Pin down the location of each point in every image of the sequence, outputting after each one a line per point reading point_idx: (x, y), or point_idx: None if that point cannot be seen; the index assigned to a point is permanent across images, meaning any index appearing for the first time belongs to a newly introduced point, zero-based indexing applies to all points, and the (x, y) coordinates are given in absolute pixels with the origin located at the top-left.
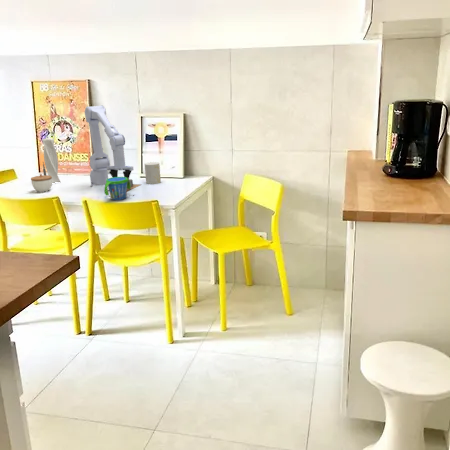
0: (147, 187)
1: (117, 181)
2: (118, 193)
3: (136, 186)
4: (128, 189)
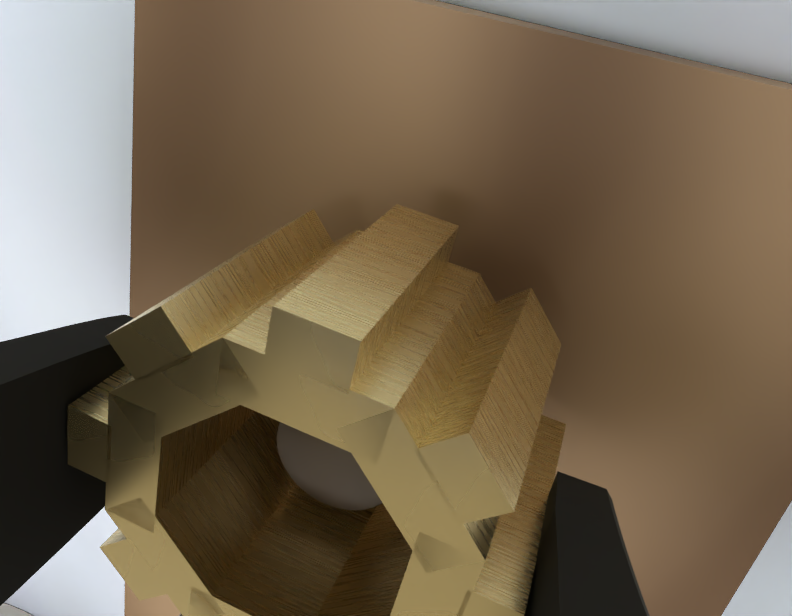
0: None
1: None
2: None
3: None
4: None
